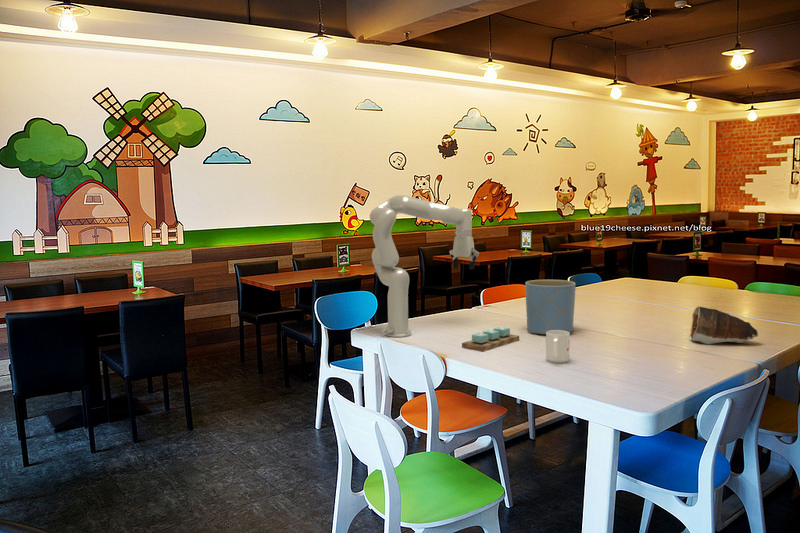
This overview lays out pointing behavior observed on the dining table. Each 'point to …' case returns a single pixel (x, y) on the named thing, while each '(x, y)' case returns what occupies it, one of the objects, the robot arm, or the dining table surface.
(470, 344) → the board
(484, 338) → the tile one
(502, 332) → the tile three
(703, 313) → the brown wedge
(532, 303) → the planter
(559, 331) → the mug
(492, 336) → the tile two
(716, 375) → the dining table surface
